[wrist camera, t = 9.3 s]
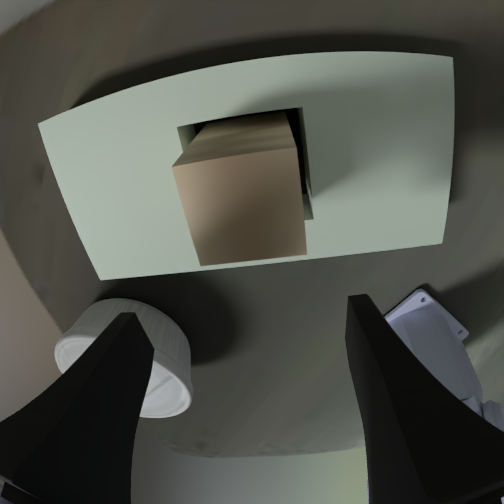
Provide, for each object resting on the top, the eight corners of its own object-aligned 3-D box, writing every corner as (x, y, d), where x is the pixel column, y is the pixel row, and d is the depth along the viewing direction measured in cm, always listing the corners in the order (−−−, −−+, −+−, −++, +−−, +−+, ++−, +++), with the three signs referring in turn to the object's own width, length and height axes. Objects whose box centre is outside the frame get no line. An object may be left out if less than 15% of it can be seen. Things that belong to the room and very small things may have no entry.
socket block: (424, 54, 13) (452, 57, 10) (422, 217, 18) (442, 243, 16) (67, 111, 15) (37, 123, 13) (117, 252, 21) (100, 280, 18)
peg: (284, 111, 15) (296, 147, 9) (293, 181, 17) (307, 254, 12) (207, 122, 16) (171, 167, 10) (222, 191, 18) (200, 266, 12)
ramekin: (201, 380, 29) (193, 428, 25) (95, 360, 29) (78, 402, 24) (201, 296, 23) (188, 355, 18) (65, 275, 22) (34, 322, 18)
